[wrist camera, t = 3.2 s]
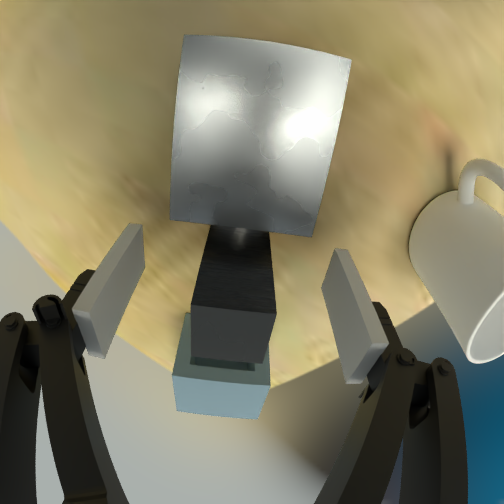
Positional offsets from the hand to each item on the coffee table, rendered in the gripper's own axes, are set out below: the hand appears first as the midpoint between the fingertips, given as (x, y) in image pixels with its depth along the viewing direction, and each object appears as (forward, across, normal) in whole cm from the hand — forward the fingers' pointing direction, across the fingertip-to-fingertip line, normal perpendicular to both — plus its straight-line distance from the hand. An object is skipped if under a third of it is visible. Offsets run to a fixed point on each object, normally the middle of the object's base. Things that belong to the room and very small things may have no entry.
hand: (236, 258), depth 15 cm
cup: (+5, +16, +3) cm, 17 cm away
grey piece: (+4, 0, +3) cm, 5 cm away
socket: (+5, 0, -12) cm, 13 cm away
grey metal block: (+5, 0, +6) cm, 8 cm away
